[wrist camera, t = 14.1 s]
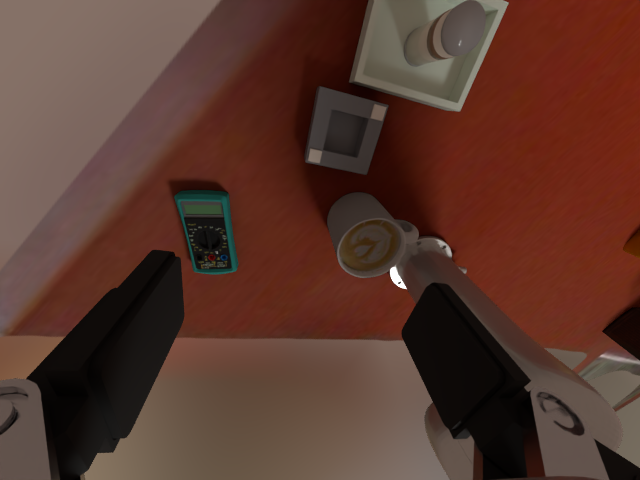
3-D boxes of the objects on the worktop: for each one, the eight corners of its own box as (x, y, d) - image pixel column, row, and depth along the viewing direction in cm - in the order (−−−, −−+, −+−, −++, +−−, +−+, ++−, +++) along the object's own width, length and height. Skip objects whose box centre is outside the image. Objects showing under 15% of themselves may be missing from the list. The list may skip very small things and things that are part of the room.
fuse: (439, 32, 29) (494, 8, 22) (425, 70, 31) (471, 60, 23) (411, 22, 29) (457, -7, 21) (398, 61, 31) (437, 48, 23)
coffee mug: (322, 240, 43) (330, 275, 35) (333, 188, 39) (346, 213, 30) (390, 247, 46) (413, 281, 37) (408, 199, 41) (440, 225, 33)
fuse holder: (379, 104, 33) (389, 105, 30) (360, 169, 38) (367, 175, 34) (317, 87, 31) (320, 86, 28) (304, 157, 36) (305, 162, 32)
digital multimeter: (198, 267, 44) (192, 277, 41) (179, 188, 36) (171, 195, 34) (239, 266, 45) (236, 276, 42) (229, 189, 37) (225, 195, 35)
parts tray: (488, 11, 29) (508, 2, 27) (446, 110, 35) (459, 111, 32) (376, -34, 26) (386, -49, 24) (348, 82, 32) (354, 80, 29)
